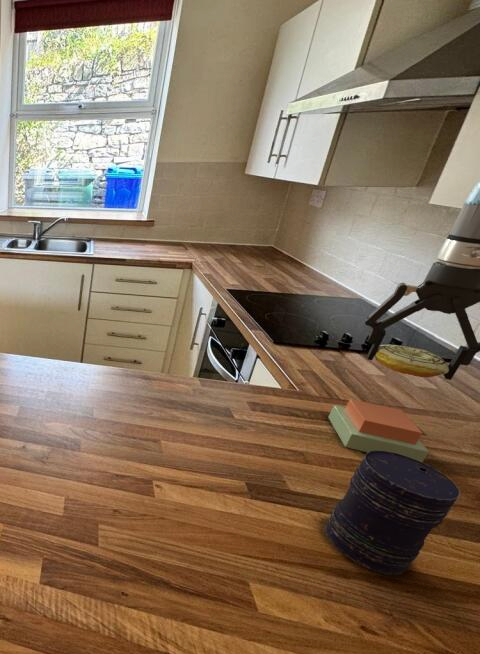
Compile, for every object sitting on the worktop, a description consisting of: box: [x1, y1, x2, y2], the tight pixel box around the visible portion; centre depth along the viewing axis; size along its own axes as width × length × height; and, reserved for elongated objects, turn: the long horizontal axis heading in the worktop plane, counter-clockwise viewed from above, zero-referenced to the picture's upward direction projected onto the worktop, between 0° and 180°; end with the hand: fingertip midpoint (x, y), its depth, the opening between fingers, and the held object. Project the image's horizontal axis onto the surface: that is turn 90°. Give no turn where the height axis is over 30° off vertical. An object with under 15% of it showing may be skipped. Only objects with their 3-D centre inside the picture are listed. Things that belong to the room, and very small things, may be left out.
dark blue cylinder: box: [324, 451, 461, 576], centre depth 60 cm, size 10×10×15 cm
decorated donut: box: [374, 343, 449, 379], centre depth 84 cm, size 10×11×4 cm
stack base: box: [327, 404, 430, 463], centre depth 87 cm, size 12×12×4 cm
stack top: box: [345, 398, 423, 445], centre depth 86 cm, size 9×9×3 cm
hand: (406, 367), depth 84 cm, fingers closed on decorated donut, 11 cm apart
